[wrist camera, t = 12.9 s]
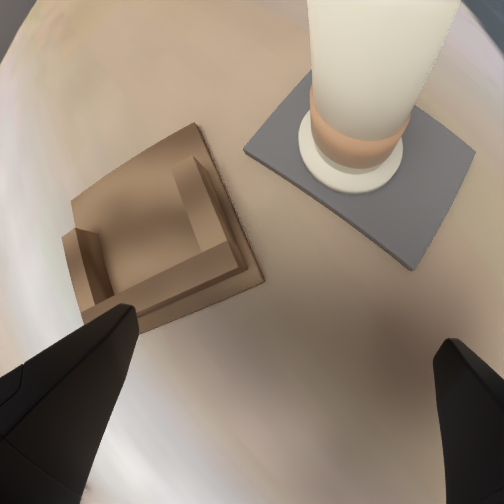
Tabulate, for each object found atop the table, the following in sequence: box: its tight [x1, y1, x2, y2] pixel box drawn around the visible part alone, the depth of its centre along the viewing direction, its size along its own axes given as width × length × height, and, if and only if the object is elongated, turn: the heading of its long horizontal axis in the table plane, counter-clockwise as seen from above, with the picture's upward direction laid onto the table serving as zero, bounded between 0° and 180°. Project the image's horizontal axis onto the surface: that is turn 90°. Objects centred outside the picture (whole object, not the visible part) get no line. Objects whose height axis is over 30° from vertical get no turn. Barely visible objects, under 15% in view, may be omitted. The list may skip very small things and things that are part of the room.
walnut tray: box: [62, 122, 265, 334], centre depth 19 cm, size 12×12×3 cm
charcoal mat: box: [243, 69, 476, 271], centre depth 17 cm, size 13×10×1 cm
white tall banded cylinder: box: [298, 0, 460, 196], centre depth 11 cm, size 6×6×13 cm
